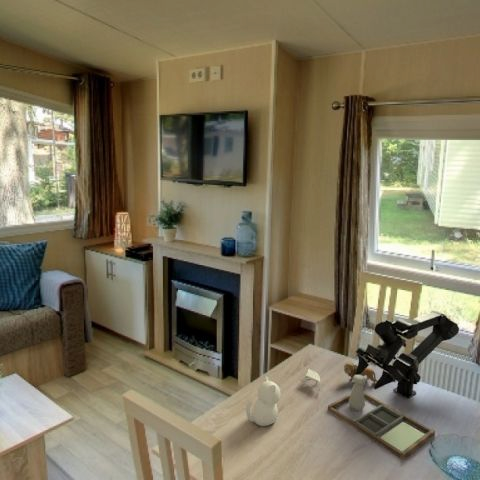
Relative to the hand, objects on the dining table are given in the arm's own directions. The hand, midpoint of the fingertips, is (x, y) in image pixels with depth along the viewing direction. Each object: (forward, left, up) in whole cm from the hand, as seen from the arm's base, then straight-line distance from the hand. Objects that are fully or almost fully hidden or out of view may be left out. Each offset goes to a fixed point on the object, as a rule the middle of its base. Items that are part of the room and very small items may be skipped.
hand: (364, 382), depth 146 cm
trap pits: (+3, +9, -10) cm, 14 cm away
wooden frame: (+3, +9, -10) cm, 14 cm away
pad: (+3, +18, -10) cm, 21 cm away
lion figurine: (-13, -11, -10) cm, 19 cm away
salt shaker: (+3, -1, -10) cm, 11 cm away
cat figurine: (+36, -15, -10) cm, 40 cm away
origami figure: (+6, -20, -10) cm, 23 cm away
